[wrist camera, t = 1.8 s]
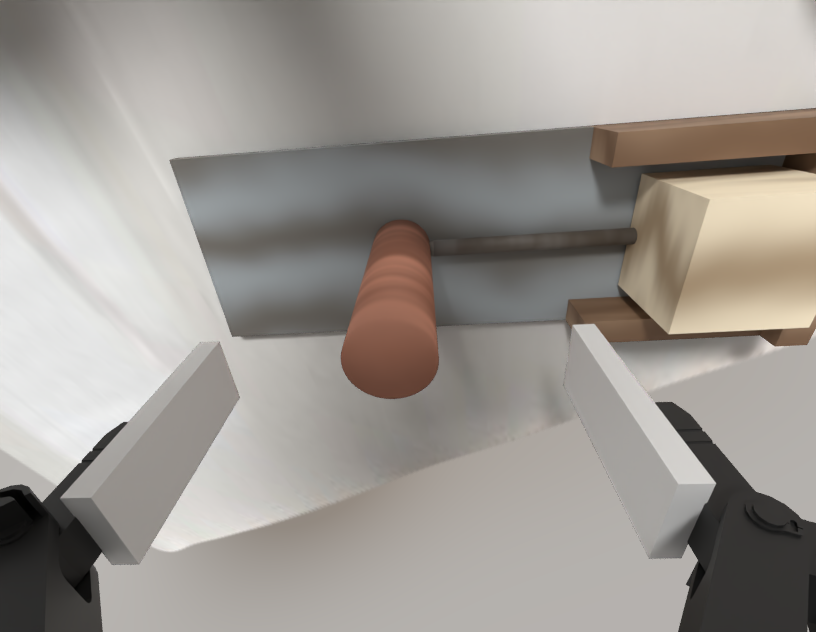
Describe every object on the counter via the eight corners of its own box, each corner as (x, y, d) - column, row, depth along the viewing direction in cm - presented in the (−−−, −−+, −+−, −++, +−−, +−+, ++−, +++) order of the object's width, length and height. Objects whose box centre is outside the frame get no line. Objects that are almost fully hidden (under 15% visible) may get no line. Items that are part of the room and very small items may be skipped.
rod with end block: (366, 193, 23) (324, 277, 13) (771, 164, 22) (1090, 232, 11) (379, 298, 27) (354, 431, 16) (729, 278, 25) (944, 410, 15)
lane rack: (176, 158, 23) (121, 173, 19) (825, 107, 21) (929, 111, 17) (236, 330, 29) (205, 372, 25) (745, 304, 27) (807, 344, 23)
